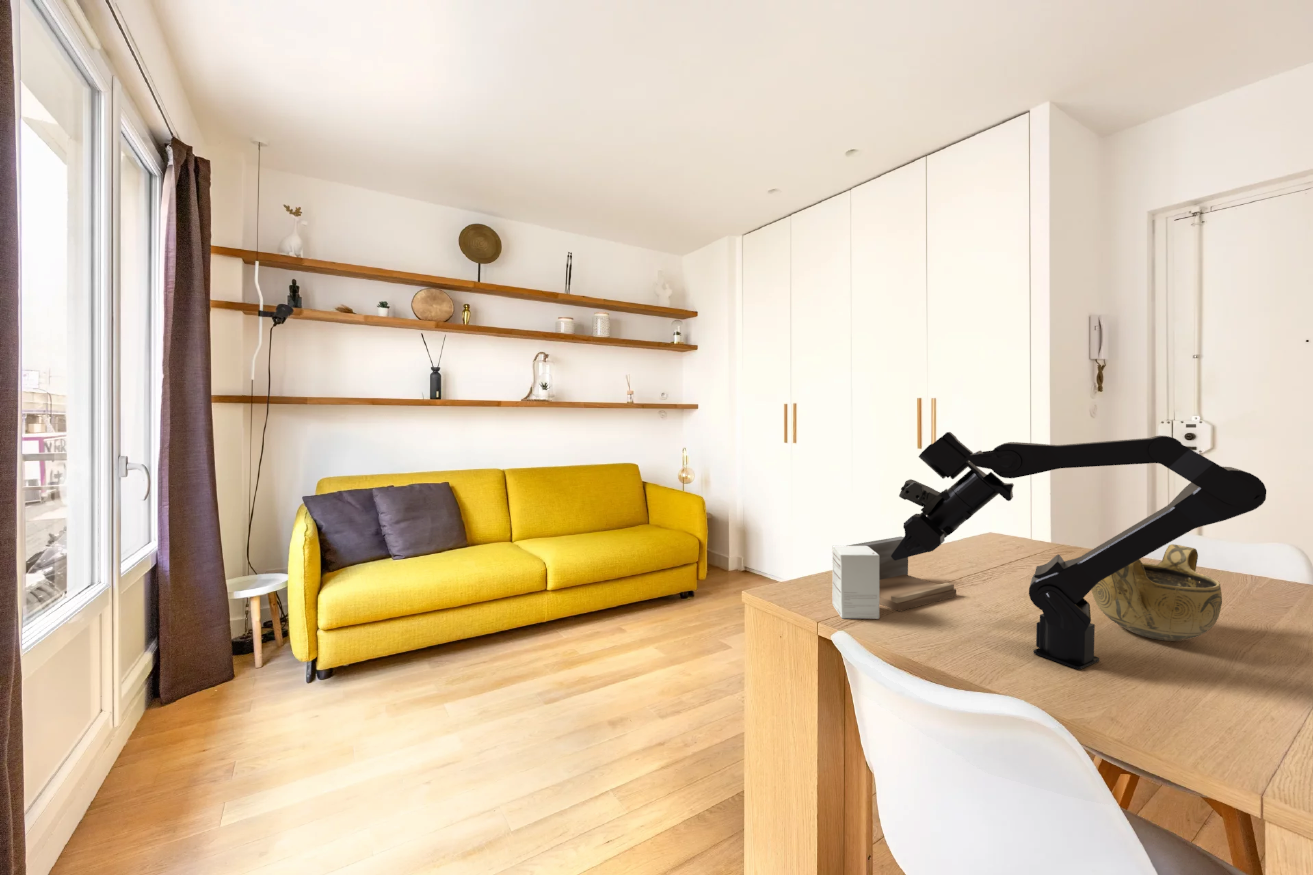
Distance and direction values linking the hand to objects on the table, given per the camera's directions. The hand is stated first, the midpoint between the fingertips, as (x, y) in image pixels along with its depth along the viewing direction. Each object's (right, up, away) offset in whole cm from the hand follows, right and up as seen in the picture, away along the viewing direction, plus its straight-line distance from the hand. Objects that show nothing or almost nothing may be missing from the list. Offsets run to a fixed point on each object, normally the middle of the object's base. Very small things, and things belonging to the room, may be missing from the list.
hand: (899, 553), depth 99 cm
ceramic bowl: (+42, -13, -6) cm, 44 cm away
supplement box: (-6, -13, +5) cm, 16 cm away
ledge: (+7, -12, +16) cm, 21 cm away
